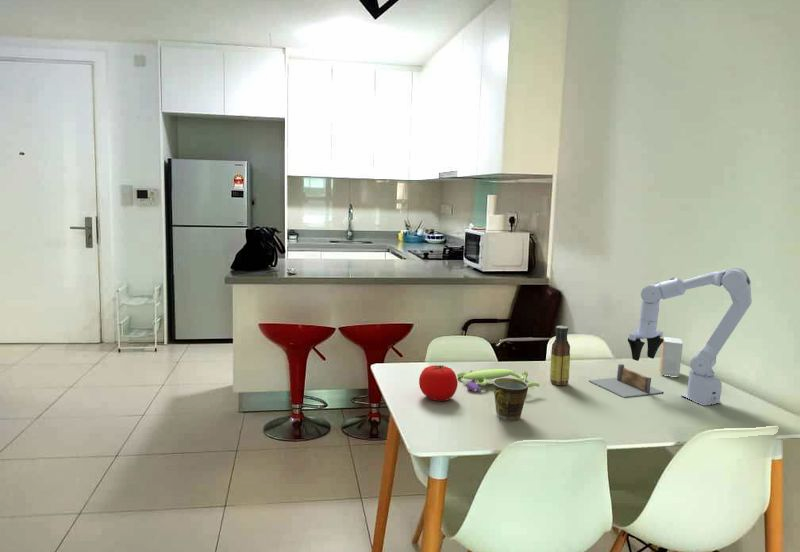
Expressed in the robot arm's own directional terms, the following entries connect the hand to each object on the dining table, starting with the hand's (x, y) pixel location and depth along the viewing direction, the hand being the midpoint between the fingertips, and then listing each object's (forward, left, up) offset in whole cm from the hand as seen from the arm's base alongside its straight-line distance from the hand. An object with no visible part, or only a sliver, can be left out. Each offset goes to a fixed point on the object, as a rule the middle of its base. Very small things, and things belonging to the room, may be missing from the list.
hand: (643, 358), depth 211 cm
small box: (+8, -22, -10) cm, 26 cm away
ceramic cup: (-12, +61, -10) cm, 63 cm away
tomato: (+8, +73, -10) cm, 74 cm away
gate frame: (+1, +6, -10) cm, 11 cm away
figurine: (+14, +48, -11) cm, 51 cm away
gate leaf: (0, +3, -9) cm, 10 cm away
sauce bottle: (+10, +26, -10) cm, 30 cm away
